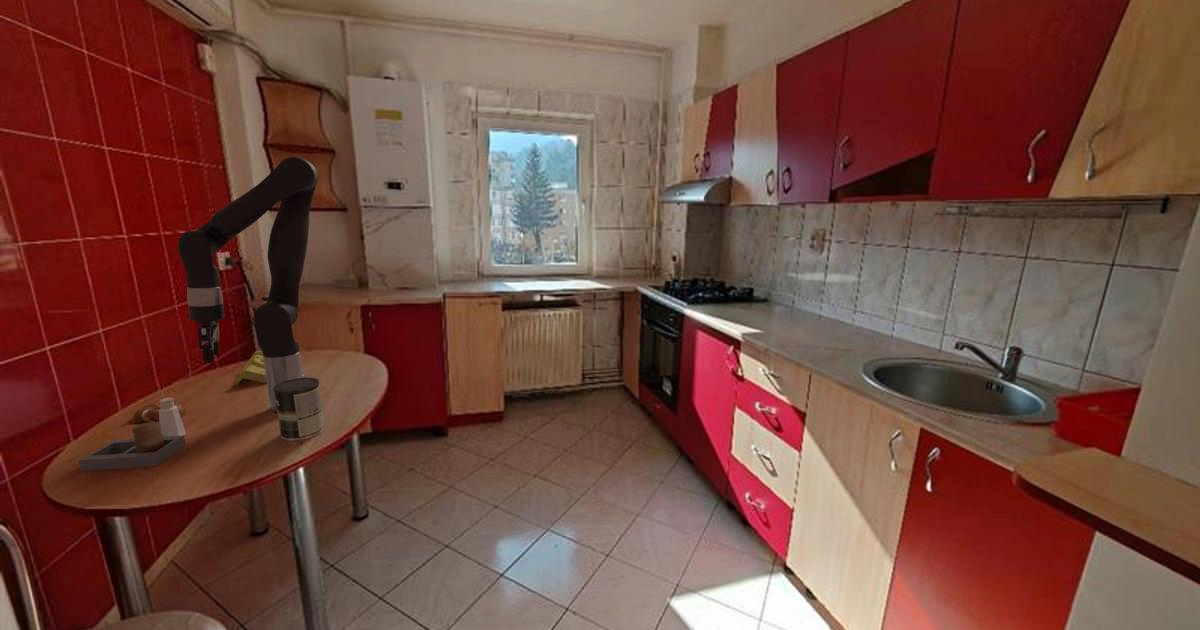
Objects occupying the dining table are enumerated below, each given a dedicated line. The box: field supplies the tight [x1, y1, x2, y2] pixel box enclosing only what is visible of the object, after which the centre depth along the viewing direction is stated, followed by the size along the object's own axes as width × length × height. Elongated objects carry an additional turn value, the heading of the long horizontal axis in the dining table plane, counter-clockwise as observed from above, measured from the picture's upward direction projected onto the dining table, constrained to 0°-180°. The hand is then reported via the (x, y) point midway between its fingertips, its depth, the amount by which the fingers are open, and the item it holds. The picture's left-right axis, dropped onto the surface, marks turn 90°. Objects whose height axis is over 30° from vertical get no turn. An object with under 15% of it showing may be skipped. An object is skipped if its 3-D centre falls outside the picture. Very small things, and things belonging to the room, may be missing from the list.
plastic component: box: [232, 350, 267, 387], centre depth 169 cm, size 20×7×10 cm
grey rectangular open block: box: [78, 435, 187, 472], centre depth 112 cm, size 15×10×4 cm, turn 99°
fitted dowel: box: [131, 422, 165, 453], centre depth 111 cm, size 5×5×8 cm
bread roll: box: [132, 401, 186, 425], centre depth 135 cm, size 12×11×4 cm
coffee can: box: [273, 377, 325, 442], centre depth 126 cm, size 10×10×14 cm
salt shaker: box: [158, 397, 187, 437], centre depth 122 cm, size 5×5×11 cm
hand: (211, 358), depth 132 cm, fingers open, 8 cm apart
